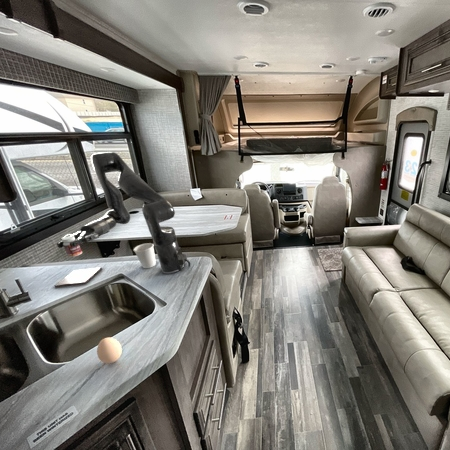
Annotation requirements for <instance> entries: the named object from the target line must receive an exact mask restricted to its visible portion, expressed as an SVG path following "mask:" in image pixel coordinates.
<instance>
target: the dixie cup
mask: <svg viewBox="0 0 450 450" xmlns="http://www.w3.org/2000/svg"><path fill="white" fill-rule="evenodd" d="M133 252H134V253H135V255H136V257H137V259H138V260H139V262H140V265H141V267H142V268H143V269H150V268H152V267H154V266H156V265H157V261H156V255H155V246H154V243H151V242H149V243H147V242H146V243H142V244H139V245H136V246H135V247H133Z"/></svg>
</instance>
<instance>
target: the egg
mask: <svg viewBox="0 0 450 450" xmlns="http://www.w3.org/2000/svg"><path fill="white" fill-rule="evenodd" d="M122 348H123V347H122V345H121V343H120V341H118V340H117V339H116V338H113V337H104V338H102V339H101V340H100V341H99V343H98V344H97V348H96V354H97V355H96V356H97V358H98V359H99V360H100V362H102V363H104V364H113V363H115V362H117V361H118V360H119V359H120V357H121V355H122V353H123V349H122Z"/></svg>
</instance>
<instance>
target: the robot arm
mask: <svg viewBox="0 0 450 450" xmlns="http://www.w3.org/2000/svg"><path fill="white" fill-rule="evenodd" d="M90 160H91V164H92V168H93V170H94V172H95V174H96V177H97V179H98V182H99V184H100V186H101V189H102V190H103V194H104V197H105V201H106V205H107V207H108V208H109V209H110V210H108V211H107V212H106V213H105V214H104V215H103V216H102V217H100V218H98V219H96V220H93V221H90V222H89V223H87V224H85V225H83V226H81V227H80V229H79V231H77V232H75V233H73V234H72V233H71V232H69V233H67V234H65V235H64V236H63V237H60V240H61V241H59V242H57V243H56V245H57V247H58V248H59V249H62V248H64V246H63V243H64V242H63V241H62V239H63V238H65V237H68V236H74V237H75V240H74V241H72V242H70V246H71V247H75V246H77V245H79V246H80V245H82V244H84V243H85V244H87V243H90V242H93V241H95V240H97V239H99V238H100V237H102V236H103V235H105V234H106V233H108V232H109V231H110V230H112V229H115V227H116V226H117V224H120V225H127V224H128V223H129V222H130V221H131V214H130V212H129V210H128V208H127V207H126V205H125V203H124V198H123V194H122V192H121V191H120V190H122V191H123V192H124V193H125V194H126V195H127V196H128V197H130V198H132V199H134V200H135V199H136V200H137V201H141V202H145V203H144V204H143V205H142V207H141V210H142V215H143V218H144V221H145V223H146V225H147V228H148V231H149V233H150V236H151V239H152V242H153V245H154V246H153V247H154V250H155V252H156V255H157V258H158V261H159V265H160V269H161V272H162V274H166V275H169V274H175V273H177V272H181V271H182V270H183V268H184V267H185V265H186V262H187V264H188V265H187V267H188V268H191V262H190V260H189V259H188V258H187V253H183V250H182V248H181V246H179V243H178V239H177V234H176V231H175V228H174V227H173V226H166V225H165V226H161V224H160V223H163V222H166V221H169V220H172V219H173V218H174V217H175V216H176V215H175V214H176V212H175V209H174V206H173V205H172V204H171V203H170V201H169V200H167V199H166V198H165V197H164V196H162V195H161V194H159V192H156V191H155V190H154V189H153V188H152V187H151V186H150V185H149V184H147V182H145V181H144V179H142V178H141V177H140V176H139V175H138V174H137V173H136V172H135V171H133V170H132V169H131V168H130V167H129V165H128V164H127V162H125V161H124V160H123V158H122V157H121V156H120V155H119V154H118V153H116V152H115V151H107V152H106V151H105V152H97V153H93V154H92V155H91V156H90ZM113 172H119V176H118V178H117V179H118V180H117V184H118V187H119V188H120V189H119V188H118V187H117V186H116V185H114V184H113V182H111V181H110V180H109V179H108V178H107V175H106V174H107V173H113Z"/></svg>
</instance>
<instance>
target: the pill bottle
mask: <svg viewBox="0 0 450 450" xmlns="http://www.w3.org/2000/svg"><path fill="white" fill-rule="evenodd" d="M74 240H75V237H74V236H68V237H65V238H63V239H62V240H61V241H63V242H64V243H63V248H64V250H65V252H66V253H67V256H68V258H75V257H78V256H80V255H82V254H83V250H82V248H81V246H80V244H79V245H77V246H75V247H71V246H70V242H72V241H74Z"/></svg>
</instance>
